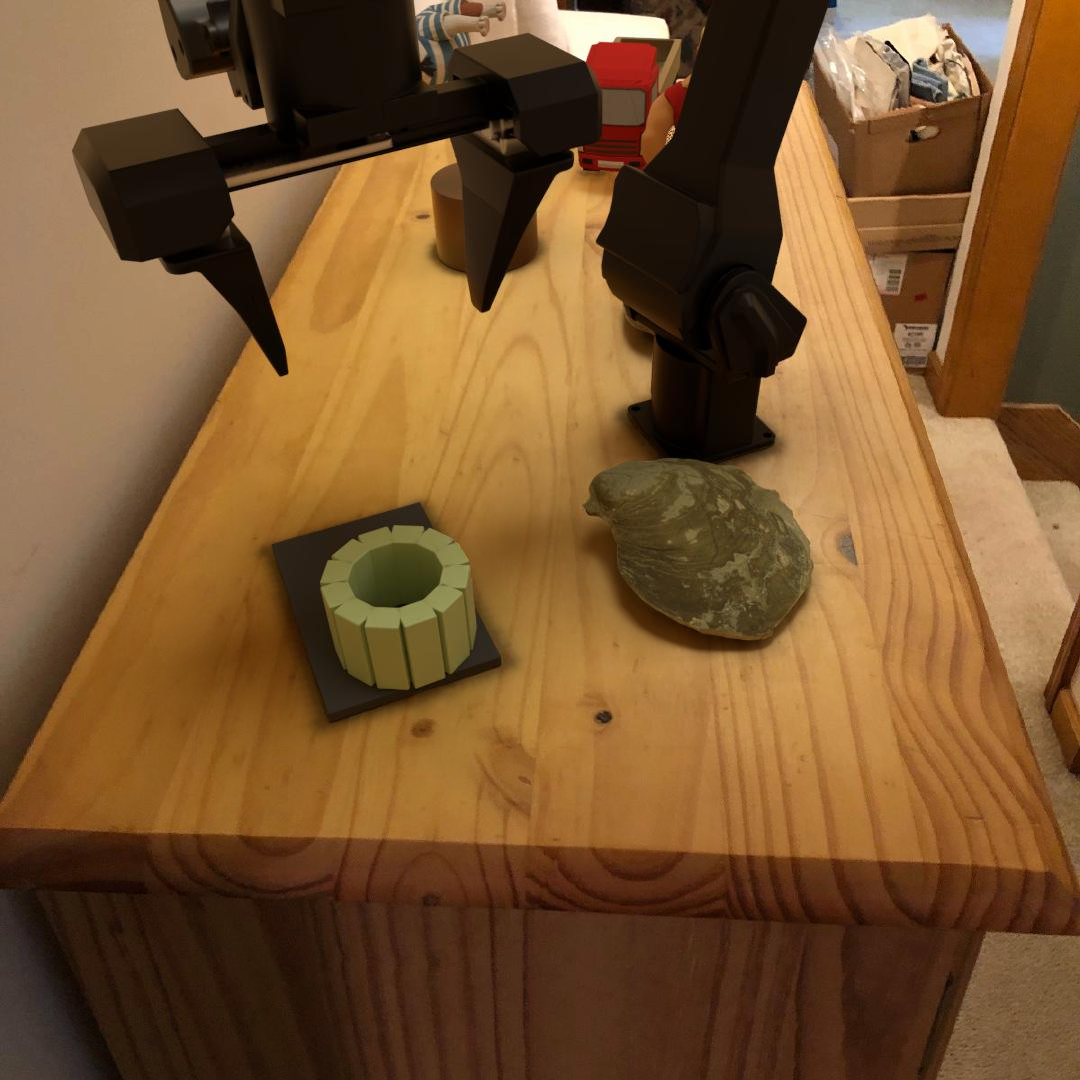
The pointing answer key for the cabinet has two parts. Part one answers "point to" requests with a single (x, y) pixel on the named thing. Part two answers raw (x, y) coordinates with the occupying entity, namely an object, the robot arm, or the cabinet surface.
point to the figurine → (451, 32)
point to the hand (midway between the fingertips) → (384, 338)
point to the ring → (407, 632)
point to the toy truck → (628, 96)
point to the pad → (301, 579)
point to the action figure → (663, 117)
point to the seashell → (704, 544)
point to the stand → (452, 224)
